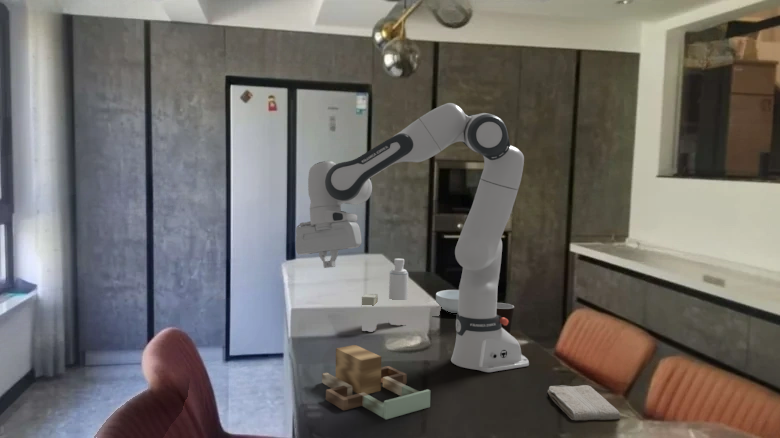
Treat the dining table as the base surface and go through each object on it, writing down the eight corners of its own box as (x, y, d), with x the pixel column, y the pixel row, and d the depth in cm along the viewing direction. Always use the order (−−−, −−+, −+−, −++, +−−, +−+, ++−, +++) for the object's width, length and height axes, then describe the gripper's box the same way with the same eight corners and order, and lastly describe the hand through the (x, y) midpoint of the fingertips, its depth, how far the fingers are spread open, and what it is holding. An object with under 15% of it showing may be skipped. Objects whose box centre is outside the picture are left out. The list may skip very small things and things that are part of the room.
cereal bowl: (433, 315, 238) (433, 297, 237) (437, 306, 254) (437, 288, 254) (478, 318, 235) (479, 300, 234) (479, 308, 251) (480, 291, 251)
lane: (304, 386, 160) (304, 377, 160) (378, 370, 174) (378, 361, 174) (364, 423, 139) (364, 412, 139) (443, 401, 153) (443, 391, 153)
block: (335, 381, 165) (335, 348, 164) (354, 377, 168) (355, 344, 168) (361, 396, 155) (361, 360, 154) (380, 391, 159) (381, 356, 158)
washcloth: (588, 393, 162) (588, 381, 161) (622, 422, 144) (623, 409, 144) (543, 394, 160) (544, 382, 160) (573, 423, 142) (573, 410, 142)
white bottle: (390, 326, 221) (391, 256, 218) (387, 321, 227) (388, 253, 225) (408, 326, 222) (410, 256, 219) (405, 321, 228) (407, 253, 226)
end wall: (383, 418, 142) (383, 400, 142) (427, 405, 150) (427, 389, 149) (386, 419, 141) (386, 402, 141) (430, 407, 149) (430, 390, 149)
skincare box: (373, 333, 212) (374, 297, 211) (360, 332, 213) (361, 296, 212) (377, 328, 218) (378, 293, 217) (365, 327, 219) (365, 293, 218)
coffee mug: (515, 338, 209) (516, 309, 208) (489, 337, 209) (490, 308, 208) (509, 329, 221) (510, 301, 220) (484, 328, 221) (485, 300, 220)
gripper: (289, 222, 180) (292, 271, 178) (350, 212, 171) (354, 263, 169) (302, 224, 185) (305, 271, 184) (362, 214, 176) (366, 263, 175)
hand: (329, 267), depth 176 cm, fingers closed
